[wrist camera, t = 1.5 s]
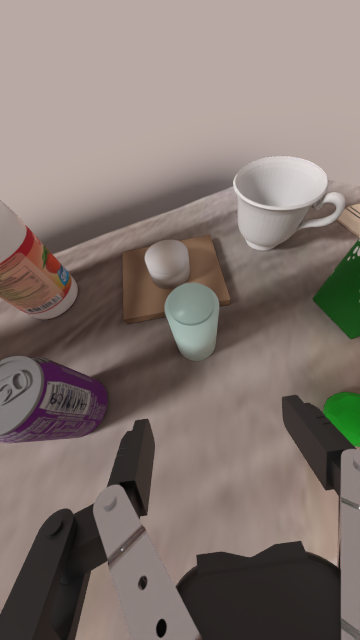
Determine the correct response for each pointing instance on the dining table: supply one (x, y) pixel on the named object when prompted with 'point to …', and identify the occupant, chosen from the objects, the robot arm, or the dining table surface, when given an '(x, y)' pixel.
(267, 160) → the teacup
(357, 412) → the polyhedron
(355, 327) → the milk carton
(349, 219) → the newspaper
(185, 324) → the pale green cylinder
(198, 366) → the dining table surface
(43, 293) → the strawberry yogurt bottle
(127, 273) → the stud base
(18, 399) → the beverage can
